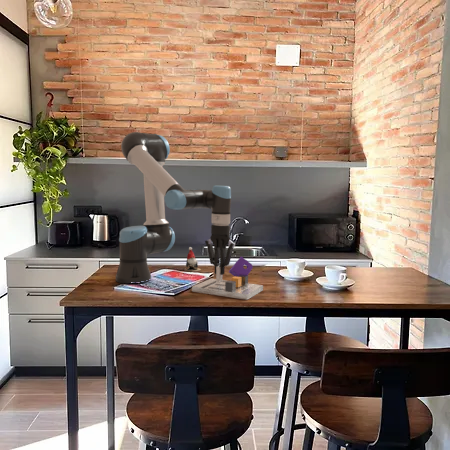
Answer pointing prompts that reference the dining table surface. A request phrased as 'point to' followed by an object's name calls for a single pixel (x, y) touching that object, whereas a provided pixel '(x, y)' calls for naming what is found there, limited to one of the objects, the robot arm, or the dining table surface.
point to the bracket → (241, 267)
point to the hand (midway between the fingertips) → (219, 281)
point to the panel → (225, 293)
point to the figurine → (191, 261)
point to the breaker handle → (237, 280)
